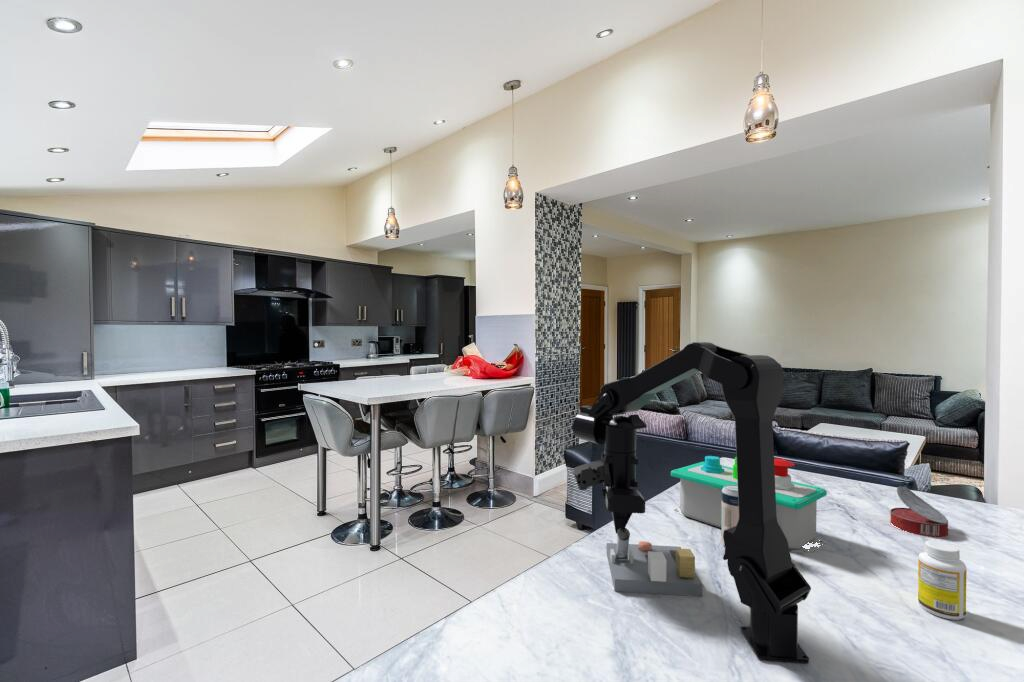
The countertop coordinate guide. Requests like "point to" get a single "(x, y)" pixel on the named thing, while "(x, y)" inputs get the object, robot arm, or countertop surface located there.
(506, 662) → the countertop surface
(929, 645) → the countertop surface
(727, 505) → the beer can
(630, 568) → the panel
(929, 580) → the supplement bottle
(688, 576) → the brushed brass brick
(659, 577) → the white block
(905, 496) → the canned food
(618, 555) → the toggle lever
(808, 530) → the control panel
